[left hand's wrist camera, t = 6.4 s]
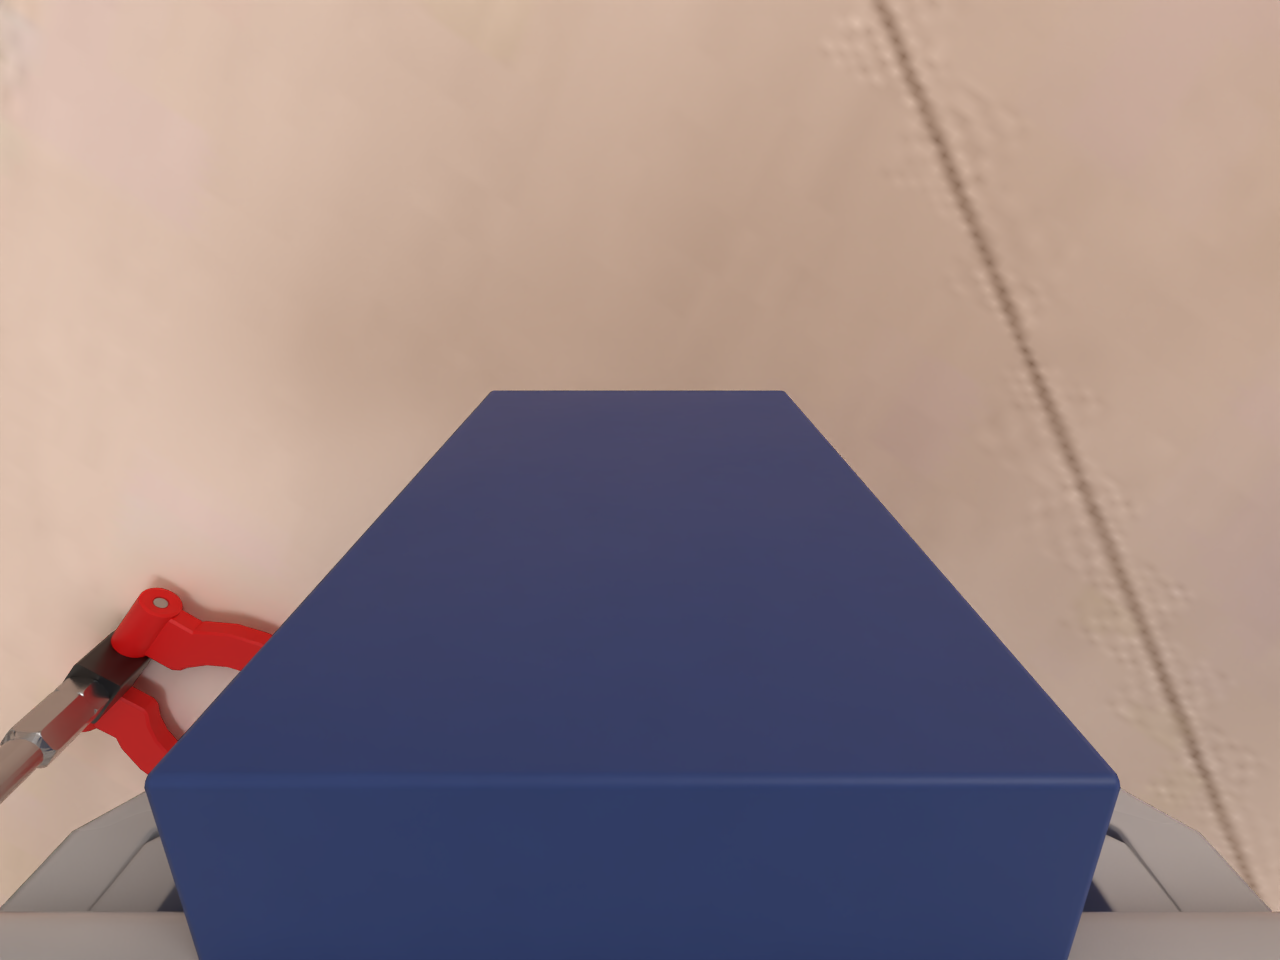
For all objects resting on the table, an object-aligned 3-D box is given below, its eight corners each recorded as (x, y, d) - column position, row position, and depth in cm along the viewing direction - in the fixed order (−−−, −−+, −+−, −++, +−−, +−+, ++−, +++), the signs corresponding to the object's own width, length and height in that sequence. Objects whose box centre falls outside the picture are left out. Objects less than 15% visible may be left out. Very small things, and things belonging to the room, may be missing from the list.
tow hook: (388, 691, 27) (166, 560, 25) (212, 1077, 15) (-251, 900, 13) (279, 815, 30) (66, 707, 27) (53, 1235, 18) (-367, 1111, 15)
